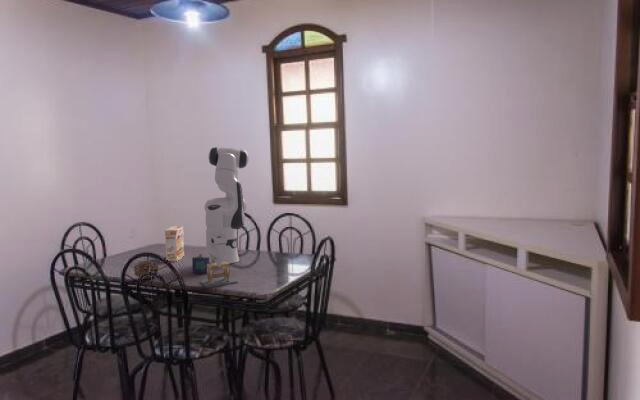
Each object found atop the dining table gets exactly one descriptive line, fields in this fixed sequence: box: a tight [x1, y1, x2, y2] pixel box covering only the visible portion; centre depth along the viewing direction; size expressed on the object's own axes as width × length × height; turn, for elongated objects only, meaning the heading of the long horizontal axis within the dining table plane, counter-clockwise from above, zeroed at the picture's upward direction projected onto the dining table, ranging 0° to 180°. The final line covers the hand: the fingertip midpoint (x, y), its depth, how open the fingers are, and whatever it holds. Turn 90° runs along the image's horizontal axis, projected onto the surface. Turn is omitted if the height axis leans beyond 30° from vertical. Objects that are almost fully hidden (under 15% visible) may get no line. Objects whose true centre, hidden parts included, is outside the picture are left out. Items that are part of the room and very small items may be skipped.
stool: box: [206, 261, 231, 284], centre depth 236 cm, size 9×6×10 cm
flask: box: [191, 253, 211, 275], centre depth 255 cm, size 9×3×11 cm, turn 95°
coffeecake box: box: [164, 225, 185, 263], centre depth 288 cm, size 15×7×20 cm, turn 179°
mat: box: [199, 276, 238, 289], centre depth 237 cm, size 16×11×1 cm
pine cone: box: [133, 259, 168, 280], centre depth 248 cm, size 22×10×10 cm, turn 148°
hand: (216, 264), depth 235 cm, fingers open, 8 cm apart
